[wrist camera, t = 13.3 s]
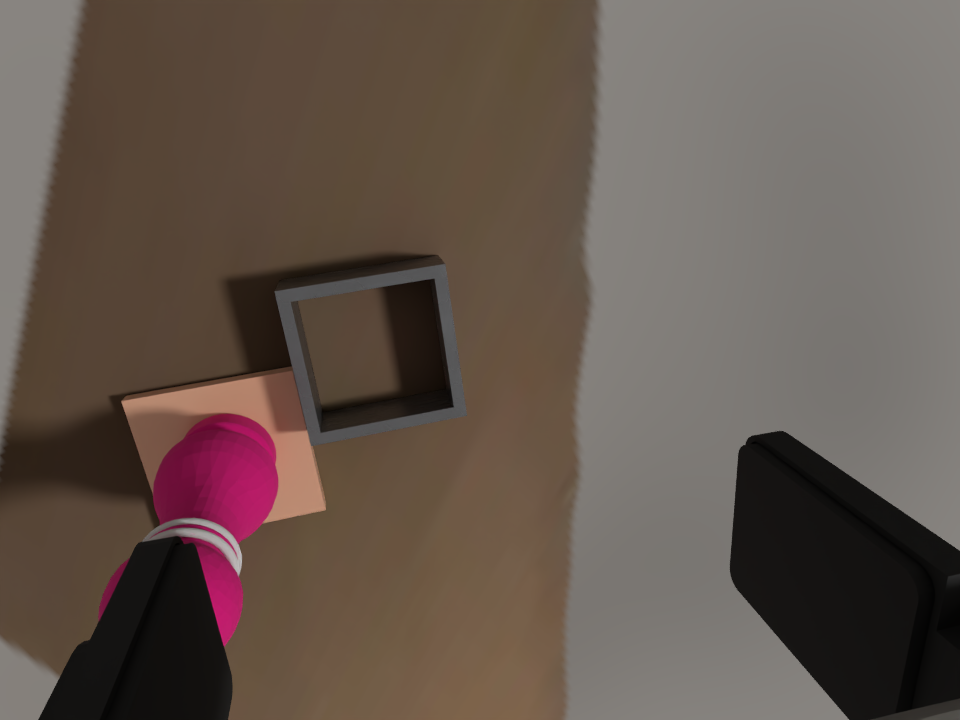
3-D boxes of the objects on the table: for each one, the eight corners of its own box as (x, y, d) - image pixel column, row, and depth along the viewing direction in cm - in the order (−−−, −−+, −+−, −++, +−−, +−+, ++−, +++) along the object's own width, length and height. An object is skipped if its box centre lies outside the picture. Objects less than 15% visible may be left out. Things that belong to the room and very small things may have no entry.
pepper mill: (210, 518, 46) (120, 772, 27) (150, 436, 43) (4, 655, 24) (303, 471, 46) (276, 691, 27) (249, 387, 43) (179, 567, 25)
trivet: (126, 395, 43) (121, 401, 42) (293, 365, 45) (292, 370, 44) (172, 534, 47) (169, 542, 46) (326, 502, 48) (325, 509, 47)
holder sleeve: (279, 280, 43) (274, 291, 39) (437, 255, 44) (445, 263, 41) (313, 424, 46) (311, 446, 43) (458, 397, 48) (466, 415, 44)
